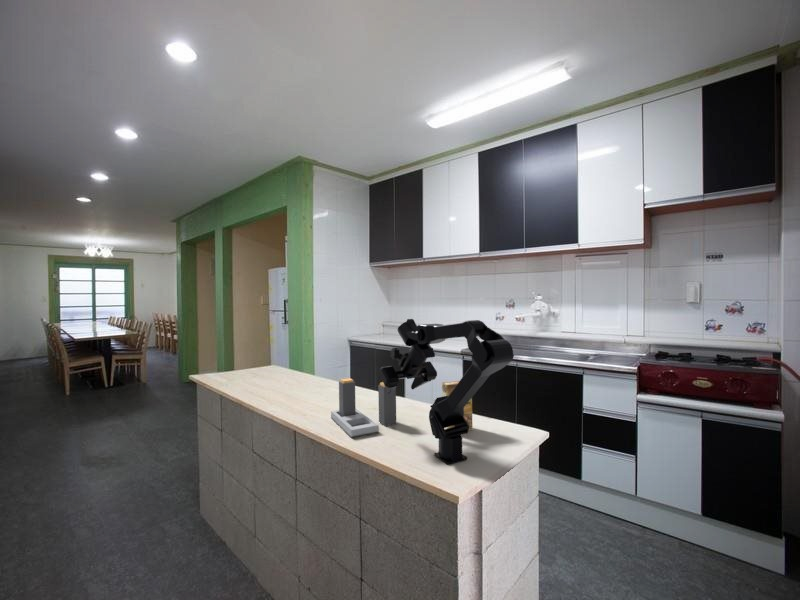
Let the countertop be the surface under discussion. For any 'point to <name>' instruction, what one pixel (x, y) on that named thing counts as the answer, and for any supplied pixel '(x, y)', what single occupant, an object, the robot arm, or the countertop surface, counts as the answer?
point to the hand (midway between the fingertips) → (400, 390)
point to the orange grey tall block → (387, 405)
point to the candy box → (448, 388)
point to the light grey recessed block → (355, 424)
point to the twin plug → (347, 397)
